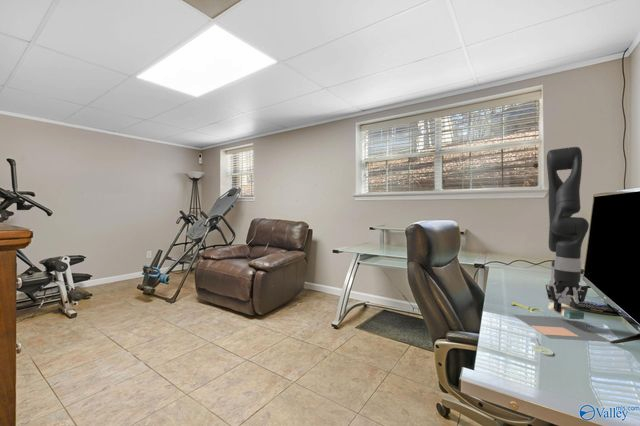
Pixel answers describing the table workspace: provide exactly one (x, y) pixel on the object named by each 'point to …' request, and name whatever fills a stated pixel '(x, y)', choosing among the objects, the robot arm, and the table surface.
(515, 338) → the table surface
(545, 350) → the sign
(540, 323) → the mat
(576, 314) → the tile
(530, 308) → the key
